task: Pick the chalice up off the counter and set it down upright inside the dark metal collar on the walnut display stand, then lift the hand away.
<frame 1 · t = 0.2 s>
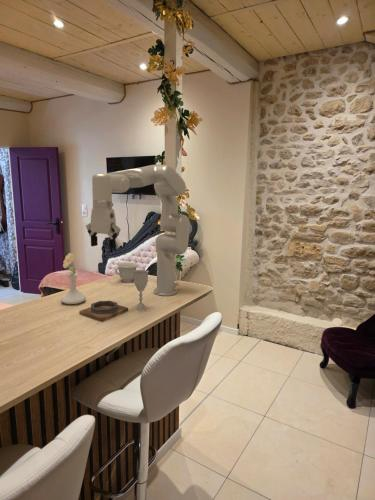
hand: (103, 247, 137), 31 cm above the table, tool pointing down, fingers open, 9 cm apart
chalice: (140, 309, 154), on the table
display stand: (104, 312, 149), on the table
teacup: (125, 281, 198), on the table
flower in vase: (73, 303, 160), on the table
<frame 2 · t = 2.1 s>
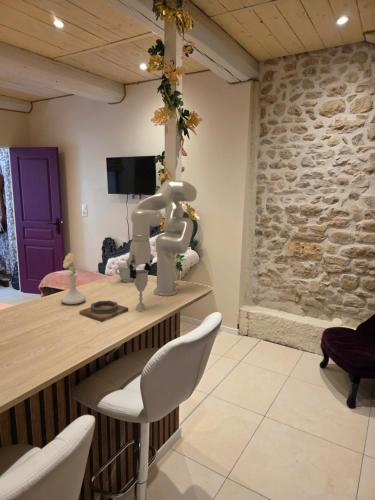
hand: (140, 276, 151), 16 cm above the table, tool pointing down, fingers open, 9 cm apart
nothing on the table moved.
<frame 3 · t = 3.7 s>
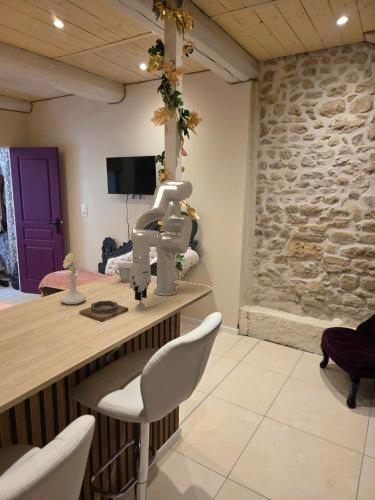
hand: (140, 298, 153), 5 cm above the table, tool pointing down, fingers closed on chalice, 3 cm apart
chalice: (140, 309, 154), on the table, touching gripper
everything else where it was.
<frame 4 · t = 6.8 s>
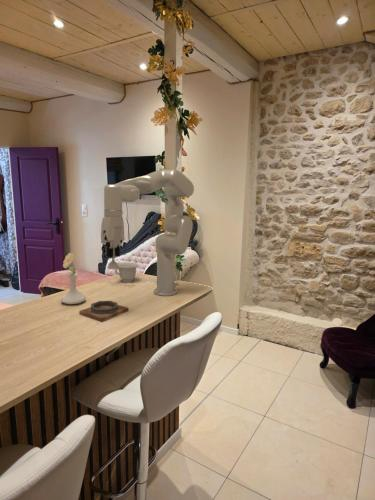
hand: (113, 255, 145), 26 cm above the table, tool pointing down, fingers closed on chalice, 3 cm apart
chalice: (113, 268, 146), point 20 cm above the table, touching gripper
everything else where it was.
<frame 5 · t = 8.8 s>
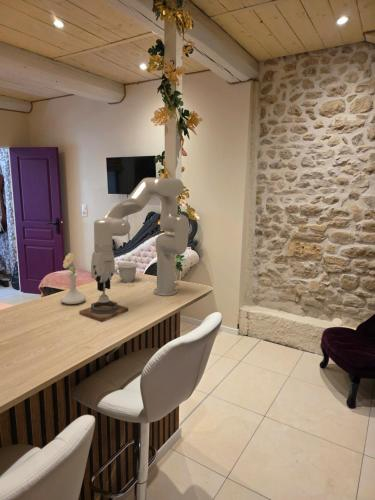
hand: (103, 289, 147), 11 cm above the table, tool pointing down, fingers closed on chalice, 3 cm apart
chalice: (103, 301, 147), point 5 cm above the table, touching gripper
everything else where it was.
when the fingers open (8 cm above the table, at t = 9.7 s): chalice drops 1 cm, resting on display stand.
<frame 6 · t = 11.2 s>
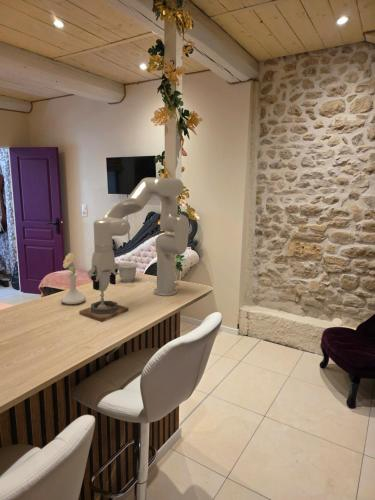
hand: (104, 286, 147), 12 cm above the table, tool pointing down, fingers open, 9 cm apart
chalice: (102, 310, 147), point 1 cm above the table, touching display stand
everything else where it was.
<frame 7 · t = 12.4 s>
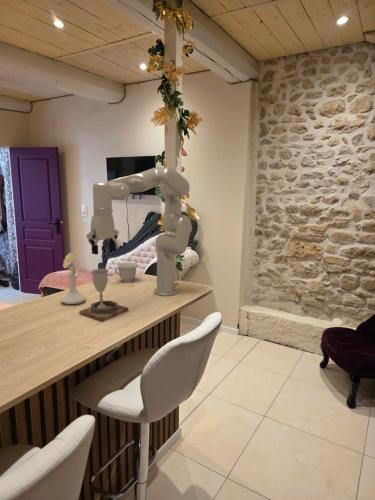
hand: (103, 252, 144), 27 cm above the table, tool pointing down, fingers open, 9 cm apart
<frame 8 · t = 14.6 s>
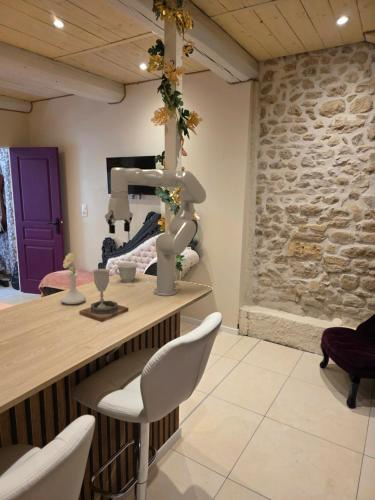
hand: (119, 232, 156), 34 cm above the table, tool pointing down, fingers open, 9 cm apart
nothing on the table moved.
at the end: chalice 1.5 cm off-centre on the display stand, point 1.3 cm above the display stand's base; chalice tilted 0°; the gripper is holding nothing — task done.
